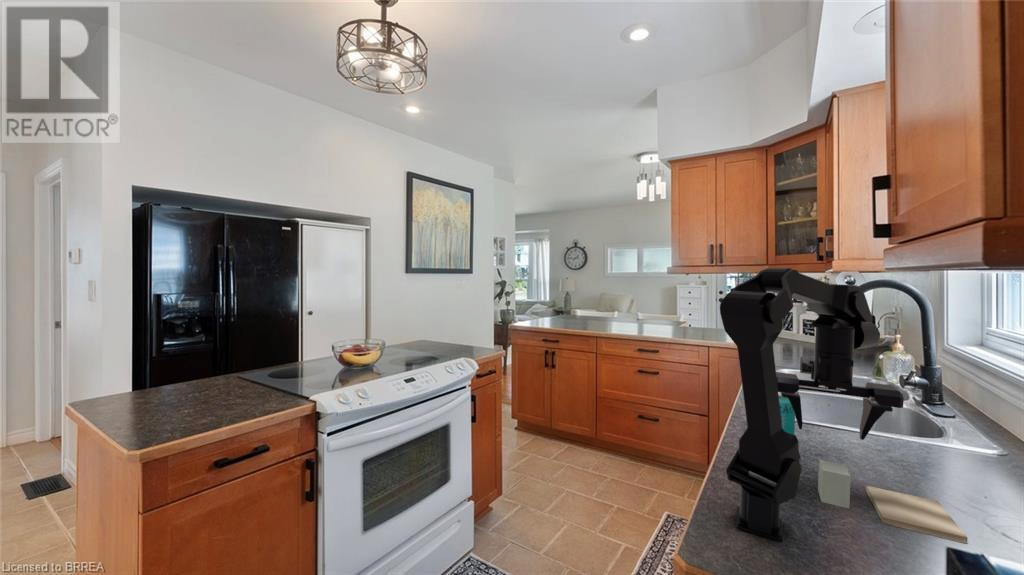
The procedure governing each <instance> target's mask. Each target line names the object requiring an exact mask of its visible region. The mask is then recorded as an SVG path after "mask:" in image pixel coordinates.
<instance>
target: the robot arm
mask: <svg viewBox="0 0 1024 575" xmlns="http://www.w3.org/2000/svg"><path fill="white" fill-rule="evenodd" d="M793 299H794V300H797V301H800V302H803V303H805V304H806V308H807V309H809V311H811V312H813V313H815V314H816V315H817V318H815V319H814V320H812V322H811V323H810V326H811V327H812V328H815V335H814V336H815V337H814V338H815V339H814V340H815V341H814V361H813V358H812V357H810V356H808V357H807V356H801V357H800V361H799V362H800V364H799V372H800V374H806V375H810V379H811V380H807V379H801V378H800V379H799V378H798V376H797V374H796V373H788V372H787V373H786V372H780V371H779V372H777V369H776V363H775V352H774V343H775V341H776V340H777V338H778V337H779V335H780V334H781V333H782V331H783V330H784V329H783V328H784V318H785V317H786V316H787V315H788V314H789V313H790V312H791V311H792V309H794V308H793V307H794V302H793ZM869 306H870V305H869V303H868V300H867V298H866V295H865V293H864V292H863V291H862V289H861V288H860V287H859V286H858V285H855V284H853V285H852V284H831V283H829V282H825V281H821V280H820V279H817V278H813V277H811V276H808V275H806V274H803V273H800V272H799V271H798V270H796V269H793V268H791V267H774V268H773V267H768V268H767V267H766V268H764V269H762V270H760V271H759V272H758V273H757V274H755V276H753V277H752V278H750V279H748V280H745V281H743V282H741V283H739V284H737V285H736V286H734V287H733V288H732V289H731V290H730V291H729V292H728V293H727V294H726V295H725V296H724V297H723V298H722V300H721V301H720V304H719V315H720V317H721V322H722V326H723V328H724V331H725V333H726V334H727V335H728V337H729V338H730V339H731V340H732V342H733V343H734V344H735V345H736V348H737V354H738V355H737V356H738V362H739V371H740V377H741V386H742V394H743V404H744V410H745V416H746V427H747V428H746V429H745V431H744V432H743V434H742V435H741V436H740V437H739V439H738V449H737V450H736V453H735V454H734V456H733V458H732V459H731V460H730V463H729V464H728V466H727V467H726V470H725V472H726V476H727V480H728V481H730V482H733V483H735V484H737V485H740V486H739V487H740V488H739V490H740V491H739V506H738V507H737V509H736V519H735V520H736V521H735V527H736V528H737V530H738V529H739V530H741V531H745V532H748V533H751V534H755V535H759V536H761V537H765V538H768V539H769V538H770V539H771V540H776V541H779V542H783V541H784V532H783V531H784V530H783V523H782V522H783V521H782V518H781V504H783V503H786V502H788V501H791V500H793V499H795V498H796V493H797V490H798V486H799V482H800V478H801V473H802V465H801V462H800V460H801V459H802V458H801V454H800V450H799V439H798V438H797V435H795V434H794V435H793V434H790V433H787V432H785V431H784V430H783V428H782V422H781V413H780V404H779V395H778V392H780V393H781V396H783V397H787V398H788V399H789V401H790V403H791V405H792V407H793V410H794V414H795V421H796V422H797V427H798V429H799V430H803V413H802V411H803V410H802V401H801V395H800V393H799V390H804V391H811V392H817V393H819V392H820V393H828V394H834V395H842V396H843V395H844V396H850V397H856V398H857V397H859V398H862V414H861V420H860V423H859V424H860V425H859V439H860V440H862V441H864V440H865V439H866V437H867V436H868V434H869V432H871V429H872V428H873V426H874V425H875V424H876V423H877V421H878V420H879V419H881V417H882V416H883V415H884V414H885V413H886V412H890V413H891V412H893V411H894V408H896V409H897V408H898V409H903V408H904V401H905V400H904V399H905V398H904V395H903V394H904V393H902V392H901V391H900V390H898V389H897V388H896V387H894V386H893V385H891V384H884V383H874V382H868V381H867V382H866V384H865V386H860V385H859V386H858V385H854V384H853V376H854V374H853V373H854V353H855V352H854V351H855V350H860V349H868V348H871V347H873V346H876V345H877V344H878V342H879V340H880V339H881V332H880V330H879V328H878V326H877V325H876V324H875V323H873V321H874V319H873V315H872V313H871V310H870V309H871V308H870V307H869ZM750 472H751V473H750ZM752 473H753V474H752ZM754 474H755V475H754ZM757 475H758V476H757ZM759 476H760V477H761V478H760V477H759ZM763 478H764V479H763ZM765 479H766V480H765ZM769 481H770V482H769ZM772 482H773V483H772Z"/></svg>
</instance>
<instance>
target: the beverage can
mask: <svg viewBox="0 0 1024 575" xmlns="http://www.w3.org/2000/svg"><path fill="white" fill-rule="evenodd" d="M778 395H779V404H780V413H781V422H782V428H783V430H784V431H785V432H787V433H790V434H793V435H795V429H796V428H795V427H796V425H795V424H796V417H795V414H794V410H793V407H792V405H791V403H790V401H789V399H788V398H787V397H783V396H781V393H780V392H778Z"/></svg>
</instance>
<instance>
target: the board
mask: <svg viewBox="0 0 1024 575" xmlns="http://www.w3.org/2000/svg"><path fill="white" fill-rule="evenodd" d="M865 491H866V494H867V495H868V497H869V499H870V501H871V503H872V504H873V507H874V509H875V511H876V512H877V514H878V517H879V519H880V520H881V522H882V524H886V525H889V526H893V527H897V528H900V529H901V528H903V529H906V530H910V531H914V532H917V533H922V534H926V535H929V536H934V537H938V538H942V539H946V540H950V541H955V542H958V543H962V544H968V541H969V540H968V536H967V535H966V534H965V533H964V531H963V530H962V528H960V526H959V524H957V522H955V520H954V519H953V518H952V516H951V515H950V514H949V513H948V511H947V510H946V509H945V508H944V506H943V505H942V504H941V503H940V502H939V500H934V499H930V498H925V497H921V496H916V495H911V494H908V493H907V494H906V493H903V492H902V493H901V492H898V491H895V490H894V491H893V490H888V489H884V488H883V489H882V488H879V487H874V486H869V485H866V487H865Z"/></svg>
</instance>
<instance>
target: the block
mask: <svg viewBox="0 0 1024 575" xmlns="http://www.w3.org/2000/svg"><path fill="white" fill-rule="evenodd" d="M847 467H848V466H847V464H842V463H839V462H834V461H833V462H832V461H828V460H823V459H819V460H818V482H817V491H818V494H819V498H820V502H821V503H825V504H828V505H832V506H837V507H840V508H846V509H850V502H851V501H850V500H851V484H852V483H851V481H852V480H851V479H852V478H851V477H852V476H851V474H850V471H849V470H848V468H847Z"/></svg>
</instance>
